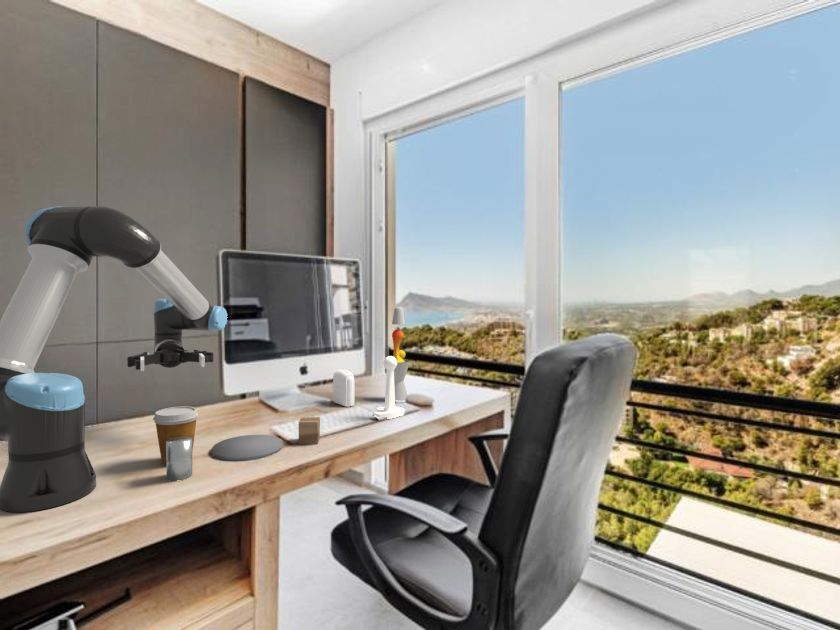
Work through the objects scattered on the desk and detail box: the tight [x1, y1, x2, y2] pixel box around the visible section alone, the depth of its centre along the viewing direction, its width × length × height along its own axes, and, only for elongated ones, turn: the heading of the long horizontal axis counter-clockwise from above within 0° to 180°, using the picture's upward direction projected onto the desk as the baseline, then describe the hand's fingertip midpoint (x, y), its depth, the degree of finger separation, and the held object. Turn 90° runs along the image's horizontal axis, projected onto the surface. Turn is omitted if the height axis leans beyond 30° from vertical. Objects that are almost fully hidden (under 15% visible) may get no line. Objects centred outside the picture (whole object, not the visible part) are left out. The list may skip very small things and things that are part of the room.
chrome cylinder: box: [165, 437, 193, 482], centre depth 100 cm, size 5×5×8 cm
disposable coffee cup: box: [152, 405, 199, 466], centre depth 109 cm, size 10×10×12 cm
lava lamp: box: [391, 306, 411, 400], centre depth 172 cm, size 9×9×35 cm
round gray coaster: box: [211, 434, 284, 462], centre depth 118 cm, size 17×17×1 cm
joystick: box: [372, 355, 405, 420], centre depth 151 cm, size 11×8×20 cm
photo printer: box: [332, 369, 356, 408], centre depth 166 cm, size 10×4×12 cm, turn 39°
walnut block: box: [298, 416, 321, 445], centre depth 125 cm, size 5×5×6 cm
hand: (173, 363), depth 117 cm, fingers open, 13 cm apart
